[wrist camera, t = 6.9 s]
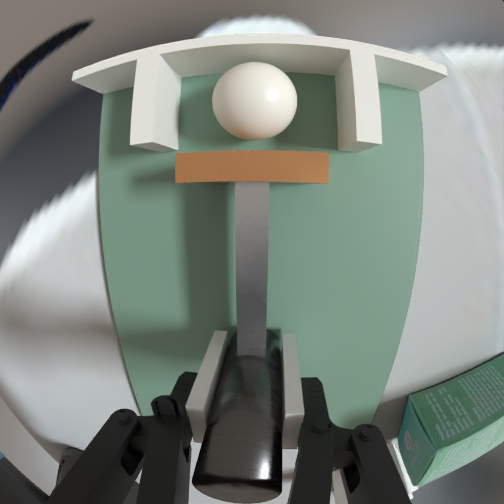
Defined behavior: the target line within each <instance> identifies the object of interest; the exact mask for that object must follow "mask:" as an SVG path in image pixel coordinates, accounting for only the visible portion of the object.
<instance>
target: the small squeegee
mask: <svg viewBox="0 0 504 504" xmlns="http://www.w3.org/2000/svg"><path fill="white" fill-rule="evenodd" d="M229 182H235V251H236V318H237V332H236V333H235V334H234V335H233V336H232V338H231V340H230V344H229V347H228V351H227V354H226V358H225V362H224V365H223V369H222V373H221V376H220V380H219V384H218V387H217V391H216V395H215V398H214V402H213V405H212V409H211V413H210V416H209V420H208V424H207V427H206V431H205V434H204V438H203V442H202V445H201V449H200V453H199V456H198V460H197V463H196V467H195V471H194V474H193V478H192V484H193V486H194V487H195V488H196V489H197V490H198V491H200V492H201V493H203V494H205V495H207V496H209V497H212V498H215V499H218V500H221V501H226V502H232V503H242V504H251V503H261V502H266V501H269V500H272V499H275V498H276V497H278V496H279V495H280V494H281V492H282V386H281V347H280V342H279V339H278V337H277V336H276V335H275V334H274V333H273V332H272V331H270V330H269V329H267V295H268V252H269V183H303V184H328V183H329V153H323V152H306V151H277V150H236V151H207V152H190V153H176V154H175V183H229Z"/></svg>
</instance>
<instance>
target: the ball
mask: <svg viewBox="0 0 504 504" xmlns="http://www.w3.org/2000/svg"><path fill="white" fill-rule="evenodd" d="M212 106H213V111H214V114H215V116H216V118H217V120H218V122H219V123H220V125H221V126H222V127H223V128H224V129H225V130H227V131H228V132H229V133H231V134H232V135H234V136H236V137H239V138H241V139H245V140H254V141H256V140H264V139H268V138H271V137H273V136H276V135H277V134H279V133H281V132H282V131H283V130H284V129H285V128H286V127H287V126H288V125H289V124H290V123H291V121H292V119H293V117H294V115H295V112H296V109H297V94H296V90H295V87H294V85H293V83H292V82H291V80H290V79H289V77H288V76H287V75H286V74H285V73H284V72H282V71H281V70H280V69H278V68H276V67H275V66H272V65H270V64H267V63H262V62H247V63H242V64H239V65H237V66H235V67H233V68H231V69H229V70H228V71H227V72H226V73H225V74H223V75H222V77H221V78H220V79H219V80H218V82H217V84H216V86H215V88H214V91H213V96H212Z"/></svg>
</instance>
